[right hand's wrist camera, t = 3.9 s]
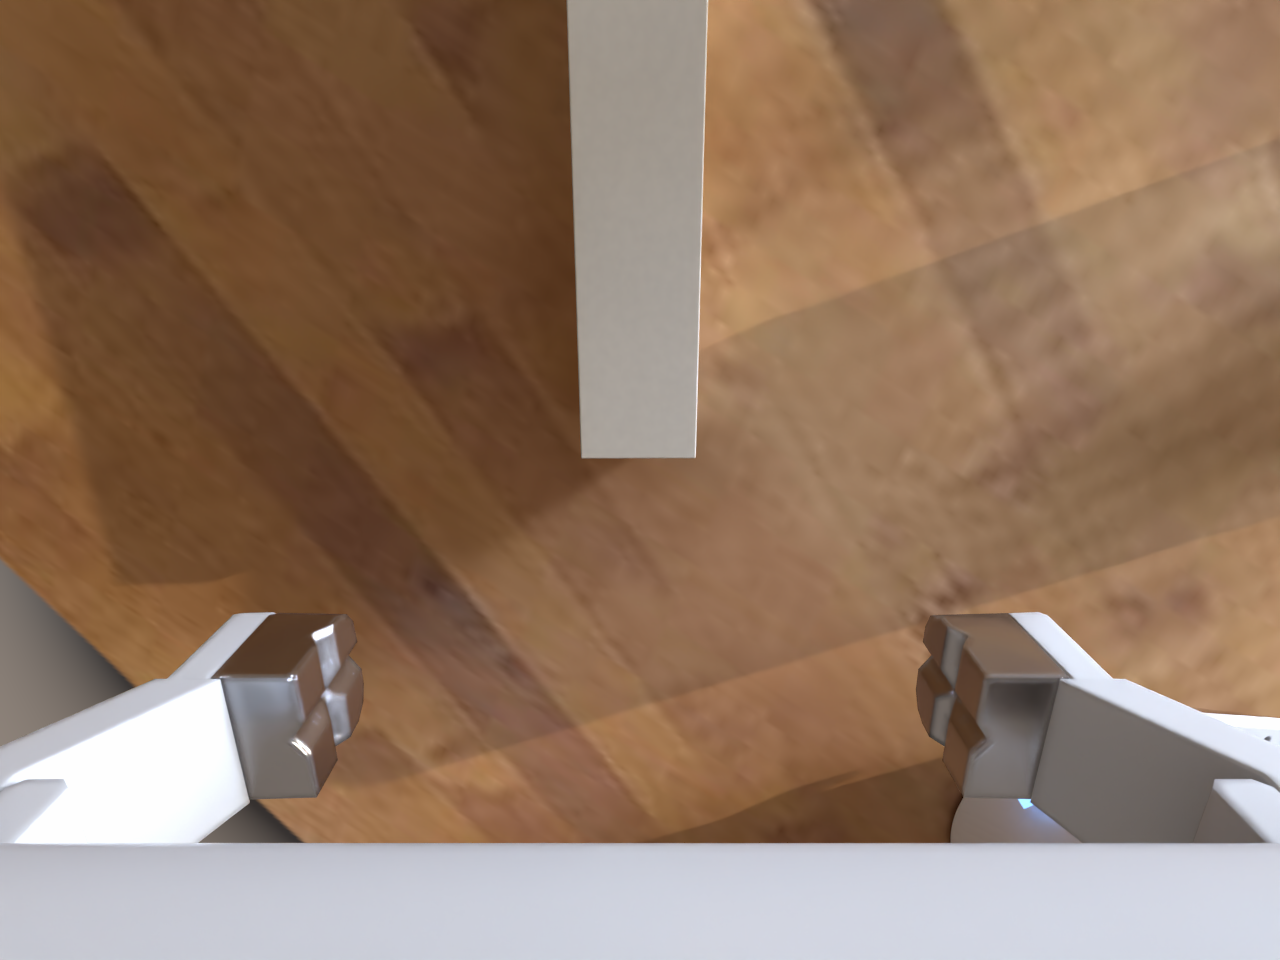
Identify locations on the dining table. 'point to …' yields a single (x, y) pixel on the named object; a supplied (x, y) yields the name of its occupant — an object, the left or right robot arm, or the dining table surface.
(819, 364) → the dining table surface
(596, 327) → the post
